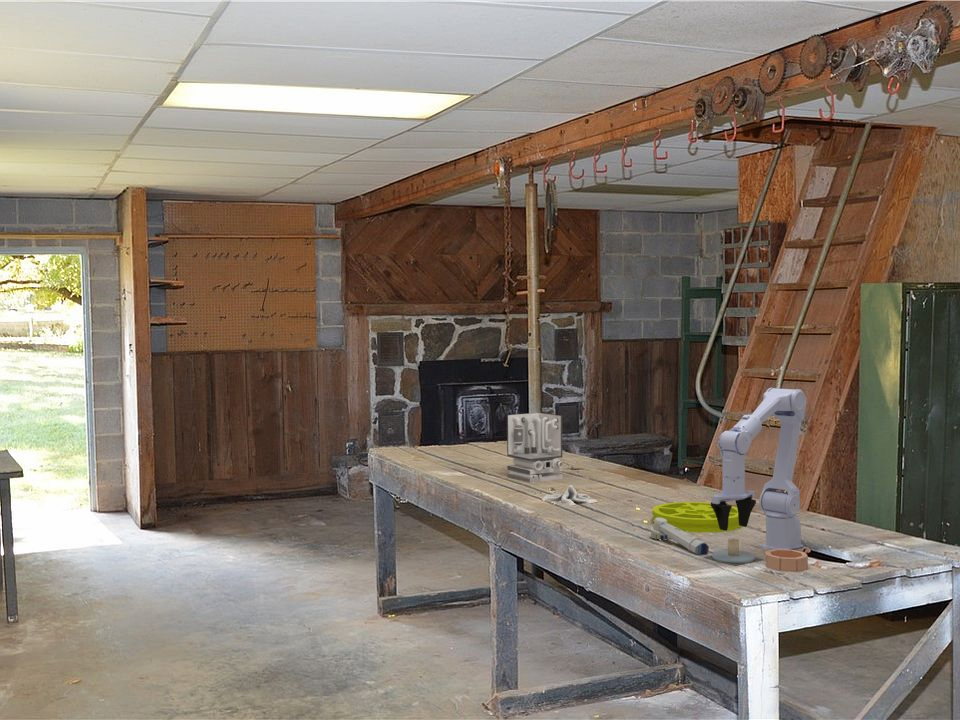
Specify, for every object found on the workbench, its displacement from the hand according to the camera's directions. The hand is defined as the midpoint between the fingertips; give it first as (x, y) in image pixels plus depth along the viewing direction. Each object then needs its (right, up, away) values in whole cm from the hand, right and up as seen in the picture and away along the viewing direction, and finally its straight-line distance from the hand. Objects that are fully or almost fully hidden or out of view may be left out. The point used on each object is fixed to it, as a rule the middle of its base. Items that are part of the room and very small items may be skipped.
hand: (733, 528), depth 259 cm
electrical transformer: (-45, -3, +132) cm, 139 cm away
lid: (0, -8, 0) cm, 8 cm away
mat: (0, -9, 0) cm, 9 cm away
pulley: (+1, -7, +47) cm, 48 cm away
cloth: (-35, -6, +83) cm, 90 cm away
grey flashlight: (-11, -8, +17) cm, 22 cm away
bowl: (+12, -9, -7) cm, 16 cm away
